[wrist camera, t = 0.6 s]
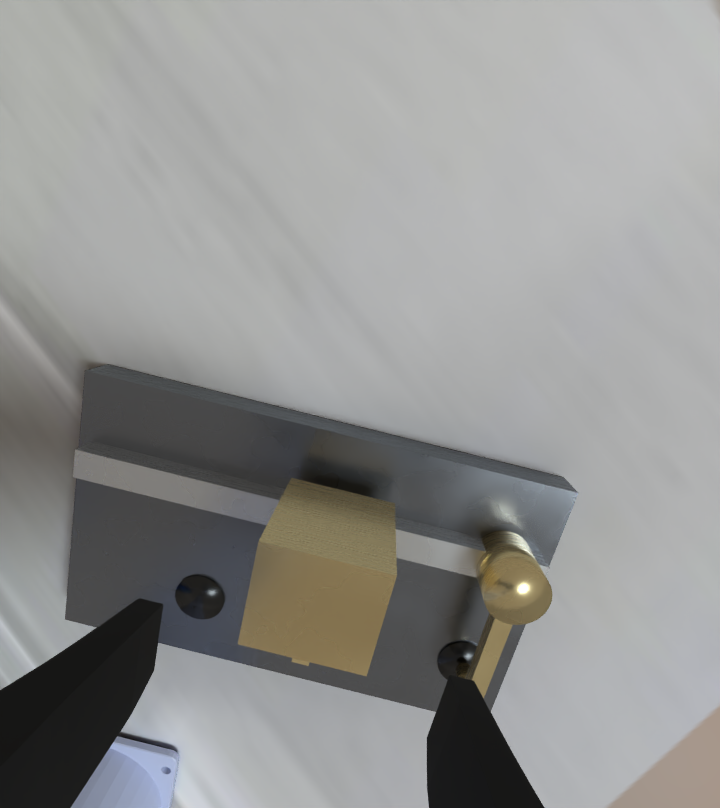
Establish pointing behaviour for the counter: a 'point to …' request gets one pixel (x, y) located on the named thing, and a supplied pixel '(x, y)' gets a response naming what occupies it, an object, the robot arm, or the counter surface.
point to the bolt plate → (253, 507)
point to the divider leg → (322, 578)
